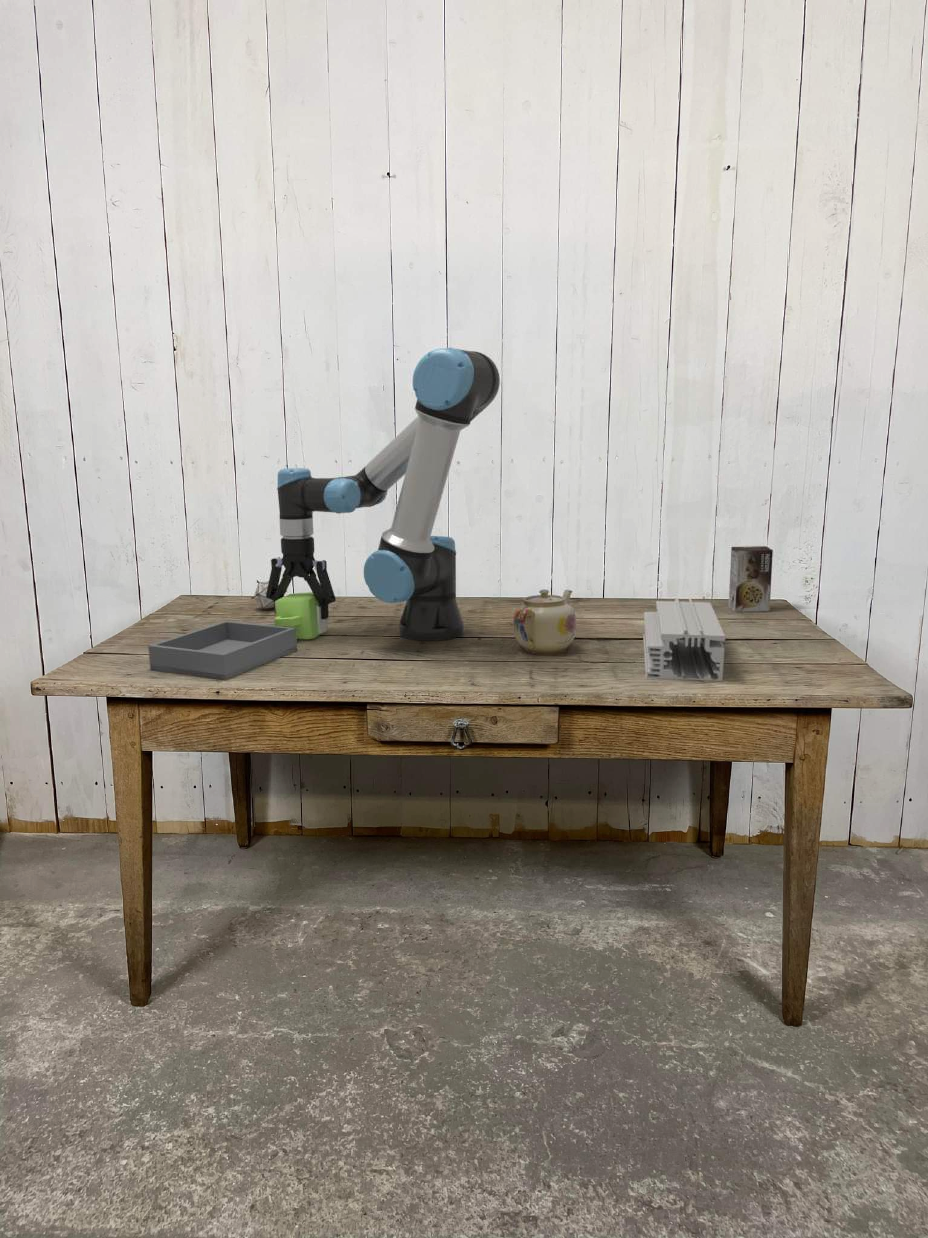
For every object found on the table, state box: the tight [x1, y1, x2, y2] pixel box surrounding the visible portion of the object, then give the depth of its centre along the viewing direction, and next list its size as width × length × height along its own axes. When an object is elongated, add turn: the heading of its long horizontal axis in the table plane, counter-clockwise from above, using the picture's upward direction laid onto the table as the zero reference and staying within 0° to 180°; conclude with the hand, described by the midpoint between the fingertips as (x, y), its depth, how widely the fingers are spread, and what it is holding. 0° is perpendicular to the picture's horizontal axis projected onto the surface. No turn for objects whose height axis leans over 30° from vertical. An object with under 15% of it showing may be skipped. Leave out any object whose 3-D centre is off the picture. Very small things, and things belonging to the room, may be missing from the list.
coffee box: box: [728, 545, 774, 613], centre depth 226 cm, size 9×6×16 cm
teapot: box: [512, 589, 577, 656], centre depth 190 cm, size 20×14×13 cm
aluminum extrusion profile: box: [642, 597, 726, 682], centre depth 182 cm, size 14×31×10 cm, turn 170°
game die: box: [250, 579, 288, 612], centre depth 233 cm, size 9×8×10 cm
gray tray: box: [147, 620, 298, 681], centre depth 184 cm, size 19×24×5 cm
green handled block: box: [273, 591, 329, 640], centre depth 206 cm, size 18×10×10 cm, turn 169°
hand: (302, 630), depth 206 cm, fingers closed on green handled block, 10 cm apart
